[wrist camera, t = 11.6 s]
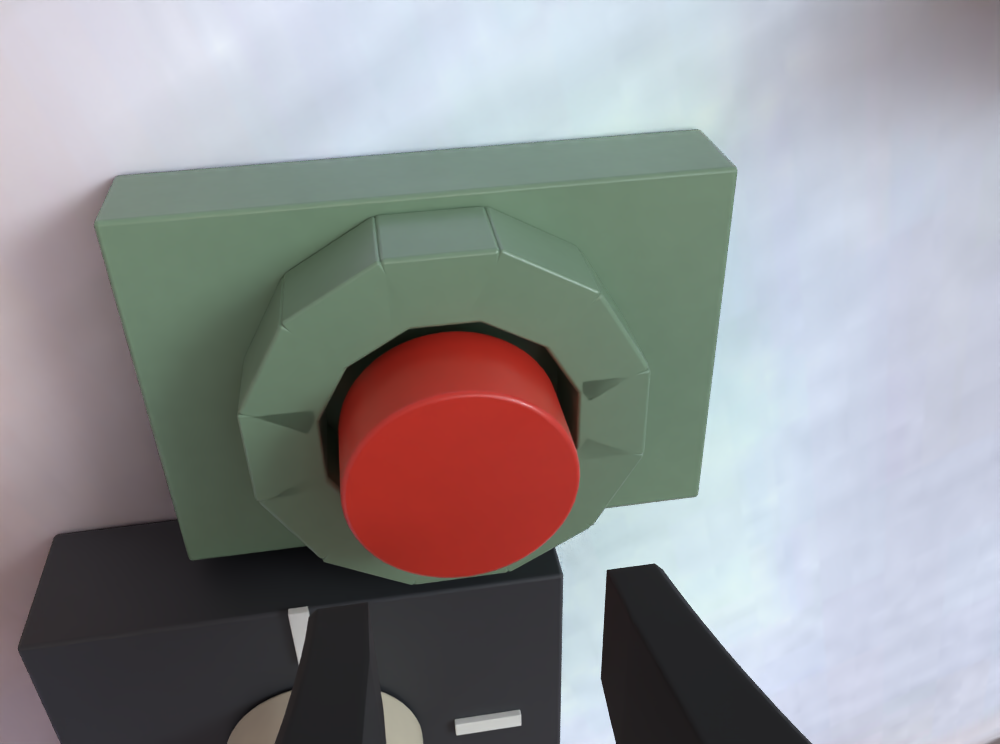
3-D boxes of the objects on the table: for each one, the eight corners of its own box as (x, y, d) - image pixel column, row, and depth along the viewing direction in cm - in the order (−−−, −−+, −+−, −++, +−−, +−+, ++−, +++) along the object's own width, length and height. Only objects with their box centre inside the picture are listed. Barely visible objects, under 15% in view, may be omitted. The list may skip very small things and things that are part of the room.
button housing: (199, 496, 20) (178, 628, 17) (113, 173, 16) (67, 272, 13) (670, 440, 21) (727, 554, 18) (700, 127, 17) (779, 208, 14)
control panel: (144, 770, 24) (123, 895, 21) (51, 530, 19) (10, 652, 17) (535, 711, 25) (560, 823, 23) (534, 471, 21) (566, 577, 18)
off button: (351, 519, 16) (354, 594, 15) (325, 341, 14) (325, 408, 13) (556, 493, 17) (578, 564, 15) (558, 317, 15) (584, 379, 13)
